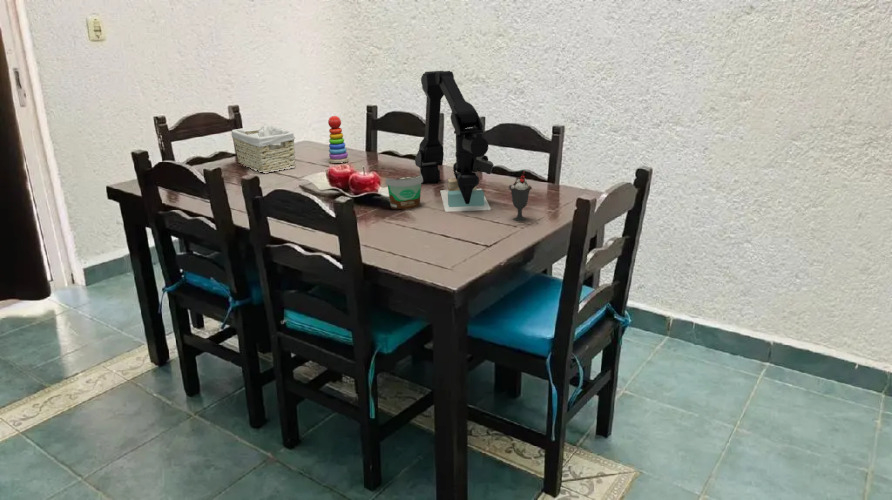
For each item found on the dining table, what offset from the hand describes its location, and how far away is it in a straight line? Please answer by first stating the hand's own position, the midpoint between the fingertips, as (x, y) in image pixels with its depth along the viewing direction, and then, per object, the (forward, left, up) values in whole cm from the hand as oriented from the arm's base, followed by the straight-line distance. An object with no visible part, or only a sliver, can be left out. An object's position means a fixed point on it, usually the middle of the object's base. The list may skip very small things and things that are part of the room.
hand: (465, 199), depth 204 cm
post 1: (-3, +12, -2) cm, 12 cm away
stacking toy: (-45, +68, -2) cm, 81 cm away
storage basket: (-73, +64, -2) cm, 98 cm away
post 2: (+2, +11, -2) cm, 12 cm away
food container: (-18, 0, -2) cm, 18 cm away
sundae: (+14, -17, -2) cm, 22 cm away
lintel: (0, 0, -2) cm, 2 cm away
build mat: (0, +6, -2) cm, 6 cm away
